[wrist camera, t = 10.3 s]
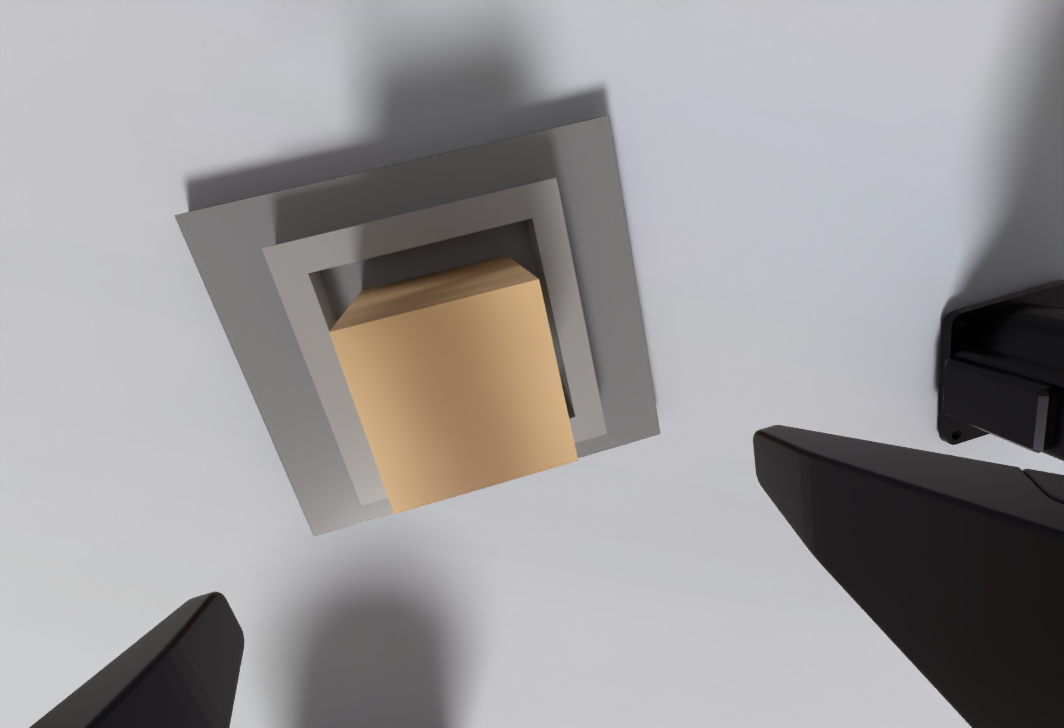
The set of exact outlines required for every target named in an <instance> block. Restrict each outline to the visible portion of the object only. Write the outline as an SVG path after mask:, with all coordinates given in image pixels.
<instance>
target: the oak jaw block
mask: <svg viewBox="0 0 1064 728" xmlns="http://www.w3.org/2000/svg"><path fill="white" fill-rule="evenodd" d="M329 334H330V337H331V340H332V343H333V345H334V348H335V351H336V354H337V357H338V359H339V362H340V365H341V368H342V370H343V373H344V376H345V379H346V382H347V384H348V387H349V390H350V393H351V395H352V398H353V401H354V404H355V407H356V409H357V412H358V415H359V418H360V421H361V423H362V426H363V429H364V432H365V434H366V437H367V440H368V443H369V446H370V448H371V451H372V454H373V457H374V459H375V462H376V465H377V468H378V471H379V473H380V476H381V479H382V482H383V484H384V487H385V490H386V493H387V496H388V498H389V501H390V504H391V507H392V509H393V512H394V514H396V513H400V512H403V511H407V510H410V509H413V508H417V507H420V506H424V505H427V504H431V503H434V502H438V501H441V500H444V499H448V498H451V497H455V496H458V495H462V494H465V493H468V492H472V491H475V490H479V489H482V488H486V487H489V486H492V485H496V484H499V483H503V482H506V481H510V480H513V479H516V478H520V477H523V476H527V475H530V474H534V473H537V472H540V471H544V470H547V469H551V468H554V467H558V466H561V465H565V464H568V463H571V462H575V461H578V458H577V453H576V448H575V444H574V439H573V434H572V430H571V425H570V420H569V416H568V411H567V406H566V402H565V397H564V392H563V388H562V383H561V379H560V374H559V369H558V365H557V360H556V355H555V351H554V346H553V341H552V337H551V332H550V327H549V323H548V318H547V314H546V309H545V304H544V300H543V295H542V290H541V286H540V281H539V279H538V278H537V277H536V276H534V275H533V274H531V273H530V272H529V271H527V270H526V269H525V268H523V267H522V266H521V265H519V264H518V263H516V262H515V261H514V260H512V259H511V258H510V257H508V256H507V255H503V256H499V257H495V258H491V259H487V260H483V261H479V262H475V263H471V264H466V265H462V266H458V267H454V268H450V269H446V270H442V271H438V272H434V273H430V274H426V275H422V276H418V277H414V278H410V279H406V280H402V281H397V282H393V283H389V284H385V285H381V286H377V287H373V288H369V289H365V290H361V292H360V293H359V294H358V296H357V297H356V298H355V299H354V301H353V302H352V303H351V305H350V306H349V307H348V308H347V310H346V311H345V312H344V313H343V315H342V316H341V317H340V319H339V320H338V321H337V322H336V324H335V325H334V326H333V328H332V329H331V330H330V331H329Z"/></svg>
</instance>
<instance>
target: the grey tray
mask: <svg viewBox="0 0 1064 728" xmlns="http://www.w3.org/2000/svg"><path fill="white" fill-rule="evenodd" d="M174 216H175V218H176V220H177V223H178V225H179V227H180V229H181V232H182V234H183V236H184V239H185V241H186V243H187V246H188V248H189V250H190V252H191V255H192V257H193V259H194V262H195V264H196V266H197V269H198V271H199V273H200V275H201V278H202V280H203V282H204V285H205V287H206V289H207V292H208V294H209V296H210V299H211V301H212V303H213V305H214V308H215V310H216V312H217V315H218V317H219V319H220V322H221V324H222V326H223V328H224V331H225V333H226V335H227V338H228V340H229V342H230V345H231V347H232V349H233V352H234V354H235V356H236V358H237V361H238V363H239V365H240V368H241V370H242V372H243V375H244V377H245V379H246V381H247V384H248V386H249V388H250V391H251V393H252V395H253V398H254V400H255V402H256V405H257V407H258V409H259V411H260V414H261V416H262V418H263V421H264V423H265V425H266V428H267V430H268V432H269V434H270V437H271V439H272V441H273V444H274V446H275V448H276V451H277V453H278V455H279V457H280V460H281V462H282V464H283V467H284V469H285V471H286V474H287V476H288V478H289V481H290V483H291V485H292V487H293V490H294V492H295V494H296V497H297V499H298V501H299V504H300V506H301V508H302V510H303V513H304V515H305V517H306V520H307V522H308V524H309V527H310V529H311V531H312V534H313V536H317V535H321V534H324V533H327V532H331V531H334V530H337V529H341V528H344V527H348V526H351V525H354V524H358V523H361V522H364V521H368V520H371V519H375V518H378V517H381V516H385V515H388V514H391V513H394V512H393V509H392V507H391V504H390V501H389V498H388V496H387V493H386V490H385V487H384V484H383V482H382V479H381V476H380V473H379V471H378V468H377V465H376V462H375V459H374V457H373V454H372V451H371V448H370V446H369V443H368V440H367V437H366V434H365V432H364V429H363V426H362V423H361V421H360V418H359V415H358V412H357V409H356V407H355V404H354V401H353V398H352V395H351V393H350V390H349V387H348V384H347V382H346V379H345V376H344V373H343V370H342V368H341V365H340V362H339V359H338V357H337V354H336V351H335V348H334V345H333V343H332V340H331V337H330V334H329V331H330V330H331V329H332V328H333V326H334V325H335V324H336V322H337V321H338V320H339V319H340V317H341V316H342V315H343V313H344V312H345V311H346V310H347V308H348V307H349V306H350V305H351V303H352V302H353V301H354V299H355V298H356V297H357V296H358V294H359V293H360V292H361V290H365V289H369V288H373V287H377V286H381V285H385V284H389V283H393V282H397V281H402V280H406V279H410V278H414V277H418V276H422V275H426V274H430V273H434V272H438V271H442V270H446V269H450V268H454V267H458V266H462V265H466V264H471V263H475V262H479V261H483V260H487V259H491V258H495V257H499V256H503V255H507V256H508V257H510V258H511V259H512V260H514V261H515V262H516V263H518V264H519V265H521V266H522V267H523V268H525V269H526V270H527V271H529V272H530V273H531V274H533V275H534V276H536V277H537V278H538V279H539V281H540V286H541V290H542V295H543V300H544V304H545V309H546V314H547V318H548V323H549V327H550V332H551V337H552V341H553V346H554V351H555V355H556V360H557V365H558V369H559V374H560V379H561V383H562V388H563V392H564V397H565V402H566V406H567V411H568V416H569V420H570V425H571V430H572V434H573V439H574V444H575V448H576V453H577V458H580V457H584V456H587V455H591V454H594V453H597V452H601V451H604V450H607V449H611V448H614V447H618V446H621V445H624V444H628V443H631V442H634V441H638V440H641V439H645V438H648V437H651V436H655V435H658V434H660V428H659V422H658V416H657V410H656V403H655V397H654V391H653V385H652V378H651V372H650V366H649V360H648V353H647V347H646V341H645V335H644V328H643V322H642V316H641V310H640V304H639V297H638V291H637V285H636V279H635V272H634V266H633V260H632V254H631V247H630V241H629V235H628V229H627V222H626V216H625V210H624V204H623V197H622V191H621V185H620V179H619V172H618V166H617V160H616V154H615V147H614V141H613V135H612V129H611V122H610V116H604V117H600V118H596V119H591V120H587V121H583V122H578V123H574V124H570V125H565V126H561V127H557V128H552V129H548V130H543V131H539V132H535V133H530V134H526V135H522V136H517V137H513V138H509V139H504V140H500V141H496V142H491V143H487V144H483V145H478V146H474V147H470V148H465V149H461V150H456V151H452V152H448V153H443V154H439V155H435V156H430V157H426V158H422V159H417V160H413V161H409V162H404V163H400V164H396V165H391V166H387V167H383V168H378V169H374V170H369V171H365V172H361V173H356V174H352V175H348V176H343V177H339V178H335V179H330V180H326V181H322V182H317V183H313V184H309V185H304V186H300V187H296V188H291V189H287V190H282V191H278V192H274V193H269V194H265V195H261V196H256V197H252V198H248V199H243V200H239V201H235V202H230V203H226V204H222V205H217V206H213V207H209V208H204V209H200V210H195V211H191V212H187V213H182V214H178V215H174Z"/></svg>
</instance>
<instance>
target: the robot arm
mask: <svg viewBox="0 0 1064 728" xmlns="http://www.w3.org/2000/svg"><path fill="white" fill-rule="evenodd" d="M957 322H958V323H957ZM987 434H993V435H995V436H997V437H1000V438H1002V439H1004V440H1007V441H1009V442H1012V443H1014V444H1016V445H1019V446H1021V447H1024V448H1026V449H1028V450H1031V451H1033V452H1037V453H1039V452H1043V453H1045V454H1048V455H1050V456H1053V457H1055V458H1057V459H1060V460H1062V461H1064V280H1059V281H1056V282H1052V283H1049V284H1045V285H1042V286H1038V287H1035V288H1031V289H1028V290H1024V291H1021V292H1018V293H1014V294H1011V295H1007V296H1004V297H1000V298H997V299H993V300H990V301H986V302H983V303H979V304H976V305H972V306H969V307H966V308H962V309H959V310H955V311H952V312H950V313H949V314H948V315H947V316H946V318H945V320H944V323H943V343H942V372H941V400H940V428H939V436H940V438H941V440H943V441H945V442H947V443H949V444H952V445H954V444H958V443H962V442H965V441H968V440H971V439H974V438H977V437H980V436H984V435H987ZM753 446H754V456H755V467H756V475H757V478H758V481H759V483H760V485H761V486H762V488H763V489H764V491H765V492H766V493H767V495H768V496H769V497H770V499H771V500H772V501H773V503H774V504H775V505H776V507H777V508H778V509H779V511H780V512H781V513H782V515H783V516H784V517H785V519H786V520H787V521H788V523H789V524H790V525H791V527H792V528H793V529H794V531H795V532H796V533H797V535H798V536H799V537H800V539H801V540H802V541H803V543H804V544H805V545H806V547H807V548H808V549H809V550H810V552H811V553H812V554H813V555H814V557H815V558H816V559H817V560H818V561H819V562H820V563H821V565H822V566H823V567H824V568H825V569H826V570H827V571H828V572H829V573H830V574H831V576H832V577H833V578H834V579H835V580H836V581H837V582H838V583H839V584H840V585H841V586H842V587H843V589H844V590H845V591H846V592H847V593H848V594H849V595H850V596H851V597H852V598H853V599H854V600H855V602H856V603H857V604H858V605H859V606H860V607H861V608H862V609H863V610H864V611H865V612H866V613H867V615H868V616H869V617H870V618H871V619H872V620H873V621H874V622H875V623H876V624H877V625H878V626H879V628H880V629H881V630H882V631H883V632H884V633H885V634H886V635H887V636H888V637H889V638H890V639H891V640H892V642H893V643H894V644H895V645H896V646H897V647H898V648H899V649H900V650H901V651H902V652H903V653H904V655H905V656H906V657H907V658H908V659H909V660H910V661H911V662H912V663H913V664H914V665H915V666H916V668H917V669H918V670H919V671H920V672H921V673H922V674H923V675H924V676H925V677H926V678H927V679H928V681H929V682H930V683H931V684H932V685H933V686H934V687H935V688H936V689H937V690H938V691H939V692H940V694H941V695H942V696H943V697H944V698H945V699H946V700H947V701H948V702H949V703H950V704H951V705H952V707H953V708H954V709H955V710H956V711H957V712H958V713H959V714H960V715H961V716H962V717H963V718H964V720H965V721H966V722H967V723H968V724H969V725H970V726H971V727H972V728H1064V475H1060V474H1054V473H1048V472H1043V471H1037V470H1031V469H1024V470H1023V471H1022V470H1021V469H1020V468H1018V467H1014V466H1008V465H1002V464H997V463H991V462H986V461H980V460H974V459H969V458H963V457H957V456H952V455H946V454H940V453H935V452H929V451H923V450H918V449H912V448H906V447H901V446H895V445H889V444H884V443H878V442H872V441H867V440H861V439H855V438H850V437H844V436H838V435H833V434H827V433H821V432H816V431H810V430H804V429H799V428H793V427H788V426H782V425H774V426H771V427H767V428H764V429H761V430H758V431H756V433H755V434H754V437H753ZM243 650H244V635H243V631H242V629H241V627H240V625H239V623H238V621H237V619H236V617H235V615H234V613H233V611H232V609H231V607H230V605H229V604H228V602H227V600H226V598H225V597H224V595H223V594H221V593H219V592H211V593H208V594H205V595H201V596H198V597H195V598H192V599H190V600H188V601H187V602H185V603H184V604H183V605H182V606H180V607H179V608H178V609H177V610H175V611H174V612H173V613H172V614H170V615H169V616H168V617H167V618H165V619H164V620H163V621H162V622H160V623H159V624H158V625H157V626H155V627H154V628H153V629H152V630H150V631H149V632H148V633H147V634H145V635H144V636H143V637H142V638H140V639H139V640H138V641H137V642H136V643H134V644H133V645H132V646H131V647H129V648H128V649H127V650H126V651H124V652H123V653H122V654H121V655H119V656H118V657H117V658H116V659H114V660H113V661H112V662H111V663H109V664H108V665H107V666H106V667H104V668H103V669H102V670H101V671H99V672H98V673H97V674H96V675H94V676H93V677H92V678H91V679H89V680H88V681H87V682H86V683H84V684H83V685H82V686H81V687H79V688H78V689H77V690H76V691H74V692H73V693H72V694H71V695H69V696H68V697H67V698H66V699H64V700H63V701H62V702H61V703H59V704H58V705H57V706H56V707H54V708H53V709H52V710H51V711H49V712H48V713H47V714H46V715H44V716H43V717H42V718H41V719H39V720H38V721H37V722H36V723H34V724H33V725H32V726H31V727H30V728H229V727H230V721H231V716H232V710H233V705H234V699H235V694H236V688H237V683H238V677H239V672H240V666H241V661H242V655H243Z"/></svg>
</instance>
